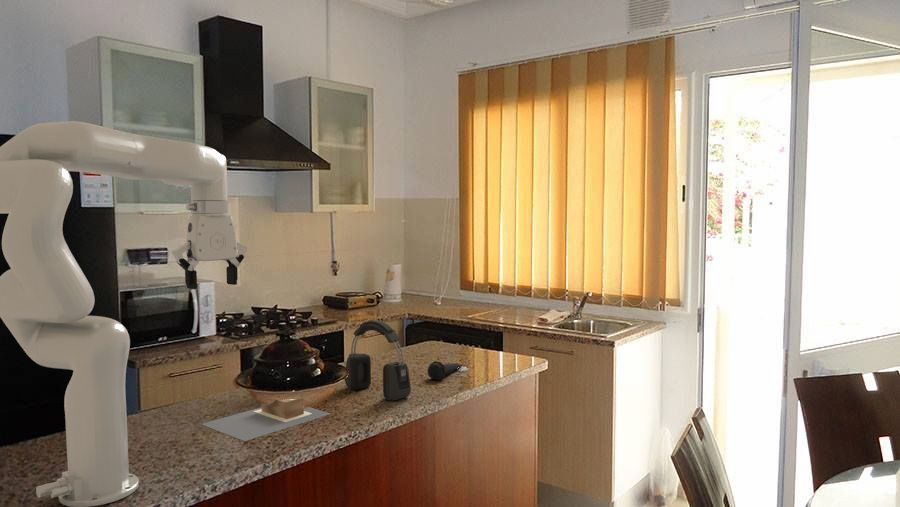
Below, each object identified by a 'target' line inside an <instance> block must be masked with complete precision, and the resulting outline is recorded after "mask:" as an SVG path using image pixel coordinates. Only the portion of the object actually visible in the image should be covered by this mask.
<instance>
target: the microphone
mask: <svg viewBox="0 0 900 507" xmlns="http://www.w3.org/2000/svg"><path fill="white" fill-rule="evenodd" d="M460 366H461V367H462V366H463V365H462V364H460V363H457V362H456V363H455V362H452V363H442V362H441V361H432V362H431V363H430V364H429V366H428V369H427V375H428V377H430V379H431V380H433V381H440V380H442V379H444V378H445V376H448V375H449V374H451V373H454V372H455V370H456V369H457V368H458V367H460ZM461 367H460V368H461ZM453 371H454V372H453ZM456 371H457V370H456Z"/></svg>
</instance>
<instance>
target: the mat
mask: <svg viewBox="0 0 900 507" xmlns="http://www.w3.org/2000/svg"><path fill="white" fill-rule="evenodd" d="M308 407H309V408H306V409H304V414H302V415H299V416H296V417H292V418H289V419H284V418H281V417H278V416H275V415H272V414H269V413H266V412H263V411H262V406H261V407H258V408H254V409H251V410H248V411H244V412H243V411H242V412H239V413H237V414H236V413H235V414H232V415H229V416H226V417H221V418H217V419H214V420H211V421H206V422H203V423H201V424H200V425H202V426H204V427H206V428H209V429H212V430H214V431H217V432H218V433H222V434H225V435H227V436H230V437H232V438H235V439H237V440H239V441H243V442H248V441H250V440H253V439H258V438H260V437H263V436H266V435H271V434H273V433H276V432H279V431H283V430H285V429H289V428H291V427H296V426H297V425H301V424H304V423H308V422H310V421H313V420H317V419H320V418H324V417H326V416H329V415H332V413H331V412H326V411H323V410H321V409H317V408H313V407H311V406H308Z"/></svg>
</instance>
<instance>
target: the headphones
mask: <svg viewBox="0 0 900 507" xmlns="http://www.w3.org/2000/svg"><path fill="white" fill-rule="evenodd" d="M370 331H374V332H377V333H379V334H380V335H382V336H384V338H385V339H386V340H387V343H389V344H392V343H393V345H394V347H395V349H396V352H397V355H398V356H397V357H398V361H394V362H393V361H392V362H389V363H385V364H384V365H383V368H382V393H383V398H384V399H386V400H387V401H399V400H401V399H404V398H407V397H409V396H410V394H411V392H412V387H411V378H410V372H409V371H410V370H409V367H408V364H406V363H404V353H403V351H402V350H403V349H402V347H401V345H400V343H399V341H400V337H399V335H398V333H396V331H395V330H394V329H393V327H392V326H390V325H389V324H387V323H386V322H384V321H381V320H377V319H375V320H368V321H364V322H363V323H360V325H359V327H357V329H355V331H354V332H353V335H354V337H353V340H352V341H351V348H350V353H349V354H348V357H347V359H346V363H345V370H346V369H347V370H348V371H349V375H348V377H347V378H345V377H344V382H345V385H346V387H347V388H349V390H353V391H359V390H364V389H367V388H369V387H370V386H371V384H372V383H371V382H372V368H371V367H372V365H371V364H372V363H371V362H372V361H371V357H370V355H369V354H366V353H360V352H359V353H357V352H356V348H357V343H358V340H359V338H360V336H363V335H365V334H366V333H367V332H370Z"/></svg>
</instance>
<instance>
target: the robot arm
mask: <svg viewBox="0 0 900 507" xmlns="http://www.w3.org/2000/svg"><path fill="white" fill-rule="evenodd" d="M70 172H80V173H86V174H93V175H101V176H108V177H114V178H120V179H126V180H141V181H150V180H151V181H152V180H153V181H154V180H159V181H160V182H162V183H165V184H167V185H170V186H190V197H191V198H190V199H191V201H190V203H186V206H185V208H186V211H190V213H191V215H189V217H188V221H187V228H186V235H185V236H186V237H185V242H184V243H183V244H182V245H180V246H179V247H176V248H174V250H171V251H172V253H171V254H172V255H173V257H174V259H175V260H176V263H177V264H178V265H179V267H181V270H183V271H184V277H185V278H184V279H185V283H184V284H185V285H186V288H187V289H188V290H196V289H197V288H198V276H197V273H198V272H197V270H195V268H196V267H197V265H198V264H199V263H200V262H215V261H225V263H226V264H227V265H228V266H226V268H225V269H226V284H227V285H230V286H231V285H232V286H235V285H238V279H239V278H238V274H239V273H238V268H239V267H240V266H241V265H240V264H241V263H242V262H243V261H244V260H245V259H244V258H245V255H246V253H247V251H248V247H247V246H246V245H243V244H241V243H239V242H238V241H237V236H236V235H237V234H236V233H237V232H236V228H235V223H234V219H233V216H232V215H229V204H228V173H227V172H228V167H227V158H226V156H225V155H224V154H222V153H220V152H219V151H217V150H216V149H215V148H212V147H210V146H207V145H202V144H198V143H195V142H190V141H184V140H183V141H182V140H176V139H168V138H163V137H162V138H161V137H156V136H151V135H143V134H135V133H133V132H132V133H131V132H127V131H122V130H117V129H114V128H110V127H105V126H101V125H98V124H94V123H89V122H85V121H79V120H78V121H76V120H73V121H71V120H69V121H68V120H67V121H53V122H43V123H42V122H41V123H39V122H38V123H36V124H33V125H30V126H28V127H27V128H25V129H24V130H22V131H19V133H17V134H16V135H14V136H13V137H11V139H9V140H7V141H6V142H5V143H3V144H2V145H1V146H0V214H1V215H2V214H3V215H4V214H8V216H7V219H6V221H5V225H4V227H3V232H2V236H1V237H2V238H1V249H2V253H3V256H4V259H5V261H6V262H7V264H8V266H9V268H10V269H8V270H6V271H5V272H3V273H2V274H1V275H0V319H1V320H2V322H3V324H4V325H5V327H7V328H8V330H9V331H10V333H11V335H12V336H13V337H14V338H15V341H17V343H18V344H19V346H20V347H21V348H22V349H23V351H24V353H26V355H27V356H28V357H29V358H30V359H31V360H32V361H33V362H35V363H36V364H37V365H39V366H42V367H46V368H51V369H62V370H71V371H73V372H72V376H71V378H70V380H69V383H68V384H67V387H66V390H65V394H64V401H63V402H64V404H63V405H64V406H63V407H64V415H65V416H64V419H65V438H66V439H65V440H66V456H67V457H66V458H67V460H66V461H67V470H66V471H62V472H61V477H60V478H57V479H56V481H54V482H50V483H49V482H48V483H44V484H42V485H39V486H36V489H35V490H36V496H37V498H39V499H41V498H43V497H47V496H50V497H51V499H55V498H57V497H58V501H59V503H60V504H62V505H63V506H66V507H98V506H103V505H106V504H110V503H113V502H117V501H119V500H122V499H125V498H126V497H128V496H130V495H131V494H133V493H134V492H135V491H136V490H137V489H138V487H139V485H140V482H139V480H140V479H139V477H138V476H137V475H135V474H133V473H130V470H129V469H130V468H129V467H130V466H129V465H130V464H129V446H128V445H129V444H128V442H129V441H128V440H129V439H128V419H127V418H128V417H127V415H128V414H127V400H126V399H127V398H126V394H127V393H126V375H127V374H126V373H127V366H128V359H129V353H130V346H131V339H130V334H129V333H128V329H127V328H126V327H125V326H124V325H123V324H122V323H121V322H119V321H118V320H115V319H114V318H110V317H105V316H100V315H99V316H98V315H90V313H91V312H92V311H93V309H94V306H95V301H96V300H95V294H94V290H93V288H92V286H91V284H90V282H89V281H88V279H87V277H86V275H85V274H84V272H83V270H82V268H81V267H80V265H79V263H78V262H77V260H76V259H75V257H74V255H73V253H72V252H71V250H70V248H69V246H68V244H67V242H66V240H65V237H64V234H63V233H64V231H63V226H64V225H63V224H64V219H65V215H66V212H67V209H68V206H69V204H70V202H71V199H72V196H73V192H74V191H73V190H74V184H73V179H72V176H71V174H70ZM184 253H186V254H185V255H186V258H187V259H185V258H184V255H183V254H184Z"/></svg>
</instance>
